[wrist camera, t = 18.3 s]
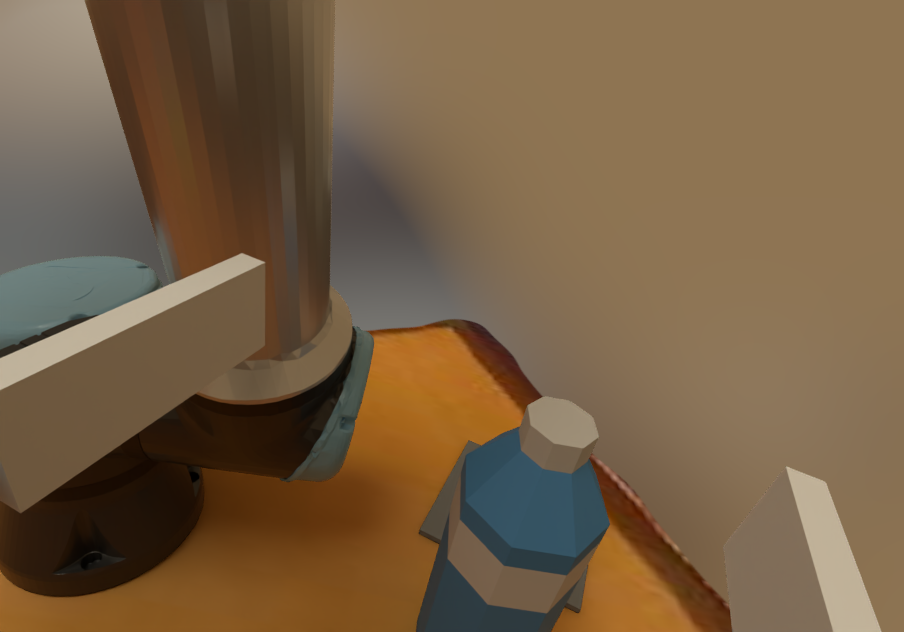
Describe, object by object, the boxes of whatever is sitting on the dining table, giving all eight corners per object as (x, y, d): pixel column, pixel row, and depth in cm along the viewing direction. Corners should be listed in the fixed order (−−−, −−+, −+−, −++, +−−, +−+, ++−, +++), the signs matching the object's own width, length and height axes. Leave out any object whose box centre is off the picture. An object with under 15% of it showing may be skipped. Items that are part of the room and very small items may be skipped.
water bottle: (502, 750, 35) (637, 522, 22) (388, 676, 37) (453, 434, 25) (537, 629, 43) (653, 409, 30) (441, 574, 45) (510, 350, 33)
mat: (418, 533, 48) (419, 529, 48) (467, 443, 60) (468, 440, 60) (578, 613, 44) (580, 609, 44) (597, 501, 56) (599, 497, 56)
